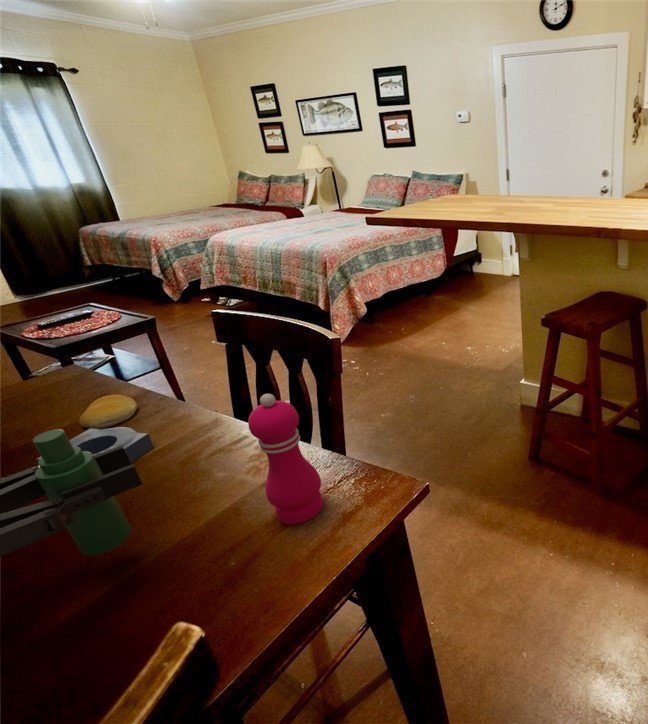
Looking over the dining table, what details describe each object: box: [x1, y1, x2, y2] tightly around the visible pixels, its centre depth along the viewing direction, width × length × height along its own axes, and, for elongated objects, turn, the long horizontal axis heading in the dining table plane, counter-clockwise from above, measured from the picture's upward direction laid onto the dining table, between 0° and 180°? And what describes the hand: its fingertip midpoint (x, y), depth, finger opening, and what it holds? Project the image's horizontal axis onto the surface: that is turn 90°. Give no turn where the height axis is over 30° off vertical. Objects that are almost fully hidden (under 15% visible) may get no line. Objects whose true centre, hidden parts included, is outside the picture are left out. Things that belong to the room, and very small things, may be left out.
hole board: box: [36, 426, 155, 464], centre depth 82 cm, size 12×11×3 cm
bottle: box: [32, 428, 133, 557], centre depth 56 cm, size 5×5×16 cm
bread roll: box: [79, 394, 138, 429], centre depth 94 cm, size 8×9×4 cm
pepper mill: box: [247, 393, 324, 525], centre depth 67 cm, size 7×7×20 cm
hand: (131, 464), depth 59 cm, fingers closed on bottle, 5 cm apart
